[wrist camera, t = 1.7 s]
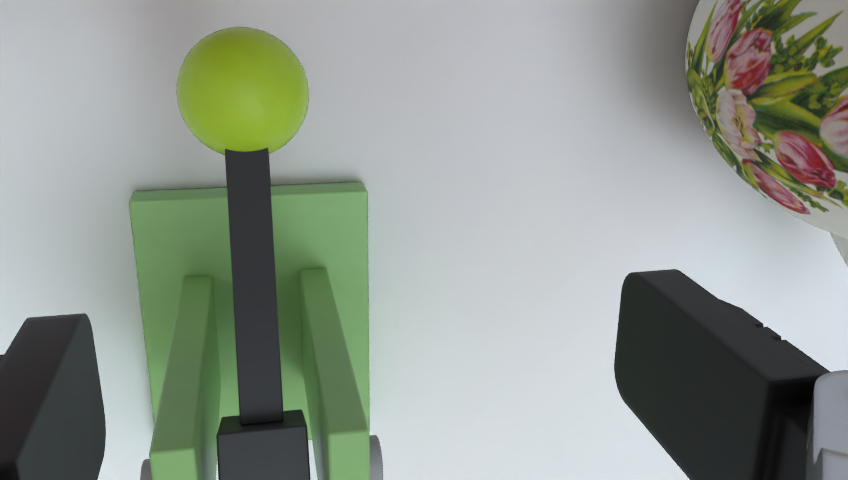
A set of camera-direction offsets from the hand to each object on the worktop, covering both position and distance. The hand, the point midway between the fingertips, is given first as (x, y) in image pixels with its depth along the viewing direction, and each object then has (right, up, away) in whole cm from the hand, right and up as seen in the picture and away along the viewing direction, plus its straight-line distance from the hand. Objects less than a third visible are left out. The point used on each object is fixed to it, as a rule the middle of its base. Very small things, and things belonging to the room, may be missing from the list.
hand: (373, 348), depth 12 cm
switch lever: (-4, +1, +11) cm, 11 cm away
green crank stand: (-5, -1, +18) cm, 19 cm away
